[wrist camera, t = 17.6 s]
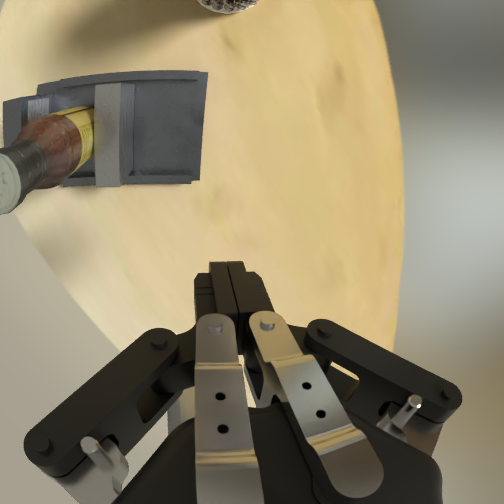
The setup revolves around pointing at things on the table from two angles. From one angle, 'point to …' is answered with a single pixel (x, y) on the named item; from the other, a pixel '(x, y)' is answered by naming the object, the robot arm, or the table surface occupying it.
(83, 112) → the sauce bottle
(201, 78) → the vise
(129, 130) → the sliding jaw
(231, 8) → the decorative candle
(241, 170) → the table surface
